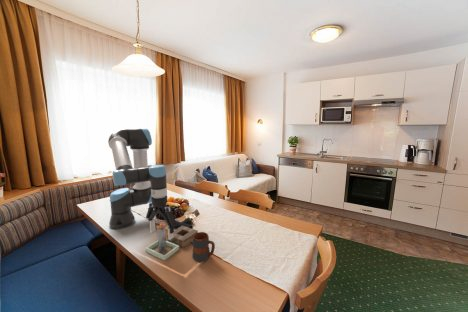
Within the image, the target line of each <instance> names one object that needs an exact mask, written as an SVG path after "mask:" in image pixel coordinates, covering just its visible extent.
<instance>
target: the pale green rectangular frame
mask: <svg viewBox="0 0 468 312" xmlns="http://www.w3.org/2000/svg"><path fill="white" fill-rule="evenodd" d="M155 247H158V240H156V241H154V242H152V243H150V245H148V246H146V247H145V250H144V251H145V253H148V254H149V255H152V256H153V257H156V258H158V259H160V260H163V261H166V260H167V259H168V258H170V257H171V256H172V255H174V254H175V253H176V252H177V251H179V250H180V246H178V245H176V244H173V243H171V242H168V240H166V247H169V248H172V249H171V250H170V251H168V252H167V253H166V254H163V253H159V252H158V251H156V250H154V248H155Z"/></svg>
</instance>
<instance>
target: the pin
mask: <svg viewBox="0 0 468 312" xmlns="http://www.w3.org/2000/svg"><path fill="white" fill-rule="evenodd" d="M166 227H167V223H166V221H165V222H164V221H161V222H158V223H155V229H156V232H157V233H156V234H157V241H158V245H157V248H158V251H157V252H158V253H160V254H163V253H165V252H166V251H167V245H166V241H167V235H166V233H167V232H166Z"/></svg>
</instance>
